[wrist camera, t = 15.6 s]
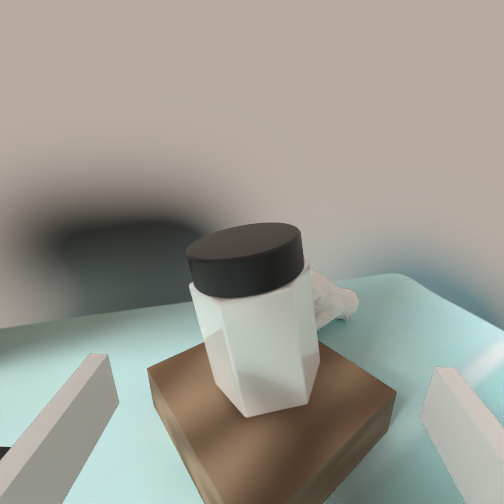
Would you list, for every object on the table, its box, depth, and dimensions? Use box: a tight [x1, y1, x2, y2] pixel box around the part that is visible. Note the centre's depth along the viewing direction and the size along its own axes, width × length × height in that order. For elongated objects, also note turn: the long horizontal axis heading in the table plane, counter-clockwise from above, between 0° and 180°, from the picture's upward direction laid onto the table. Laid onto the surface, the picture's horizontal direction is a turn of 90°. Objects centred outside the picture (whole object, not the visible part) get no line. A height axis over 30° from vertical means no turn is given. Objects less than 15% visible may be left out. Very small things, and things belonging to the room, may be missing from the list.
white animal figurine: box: [310, 269, 359, 330], centre depth 37 cm, size 6×8×12 cm
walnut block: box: [147, 341, 396, 504], centre depth 25 cm, size 15×15×5 cm
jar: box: [186, 223, 320, 418], centre depth 22 cm, size 9×8×12 cm
